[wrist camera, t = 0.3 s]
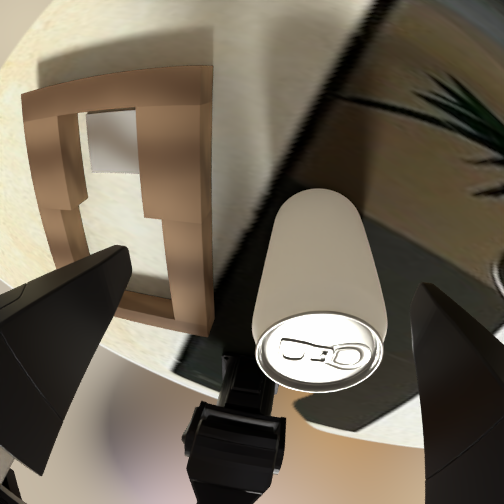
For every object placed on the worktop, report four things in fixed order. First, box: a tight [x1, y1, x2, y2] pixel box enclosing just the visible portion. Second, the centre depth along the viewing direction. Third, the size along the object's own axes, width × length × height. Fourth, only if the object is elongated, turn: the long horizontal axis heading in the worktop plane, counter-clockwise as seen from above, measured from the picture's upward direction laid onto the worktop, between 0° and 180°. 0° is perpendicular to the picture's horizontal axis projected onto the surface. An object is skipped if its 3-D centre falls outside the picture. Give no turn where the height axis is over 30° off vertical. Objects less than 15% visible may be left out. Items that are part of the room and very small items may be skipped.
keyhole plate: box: [21, 65, 215, 337], centre depth 23 cm, size 22×16×2 cm
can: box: [252, 188, 387, 393], centre depth 18 cm, size 6×6×12 cm
